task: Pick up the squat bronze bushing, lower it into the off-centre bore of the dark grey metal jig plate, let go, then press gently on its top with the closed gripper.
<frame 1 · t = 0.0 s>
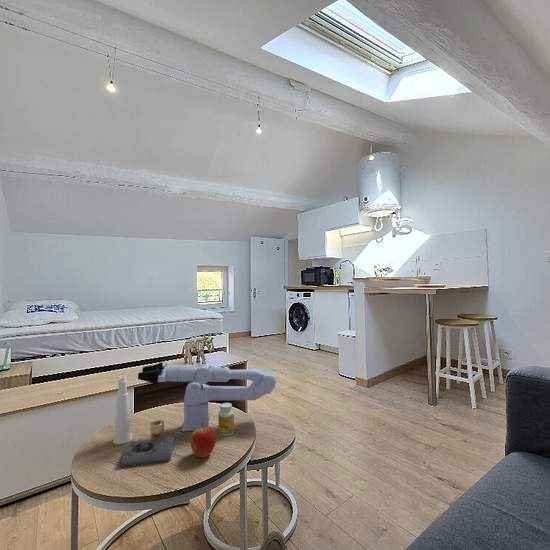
hand: (140, 372, 117), 22 cm above the table, tool horizontal, fingers open, 7 cm apart
jig plate: (149, 454, 101), on the table
bushing: (157, 440, 110), on the table
cosmetic bottle: (122, 440, 111), on the table
supplement bottle: (226, 433, 115), on the table
apple: (203, 455, 101), on the table
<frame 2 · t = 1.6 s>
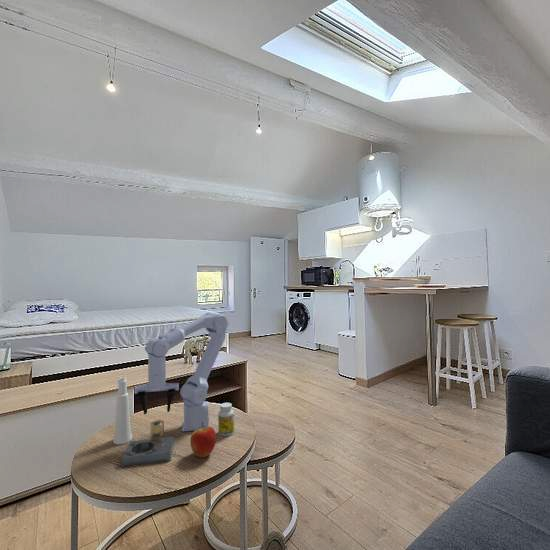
hand: (157, 411, 110), 10 cm above the table, tool pointing down, fingers open, 7 cm apart
nothing on the table moved.
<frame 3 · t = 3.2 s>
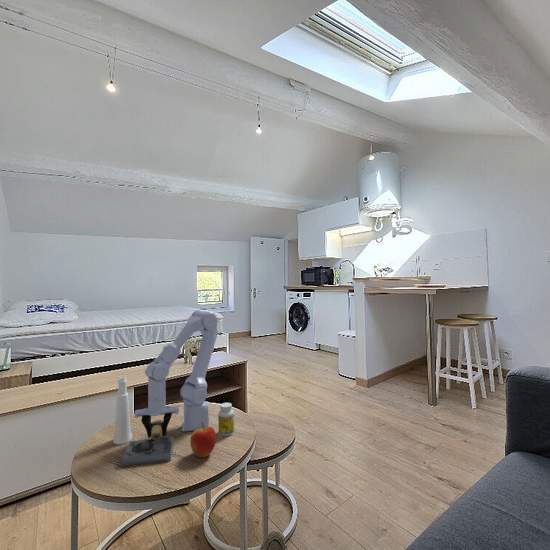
hand: (157, 435, 110), 2 cm above the table, tool pointing down, fingers closed on bushing, 4 cm apart
bushing: (157, 440, 110), on the table, touching gripper
everything else where it was.
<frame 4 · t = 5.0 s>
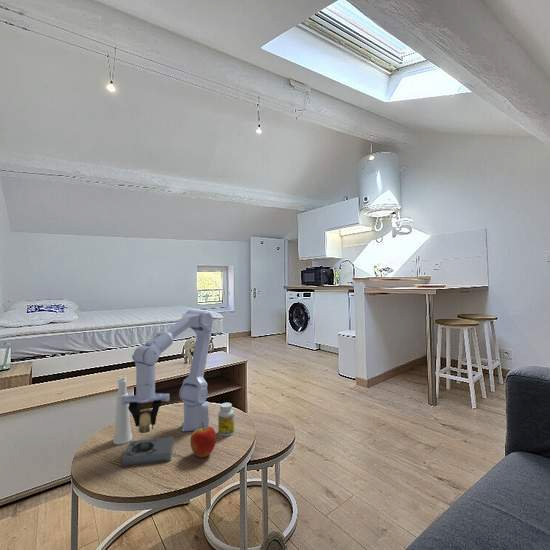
hand: (145, 424, 103), 9 cm above the table, tool pointing down, fingers closed on bushing, 4 cm apart
bushing: (145, 429, 103), point 7 cm above the table, touching gripper
everything else where it was.
when the fingers open (3 cm above the table, at t = 7.3 s): bushing drops 2 cm, resting in jig plate.
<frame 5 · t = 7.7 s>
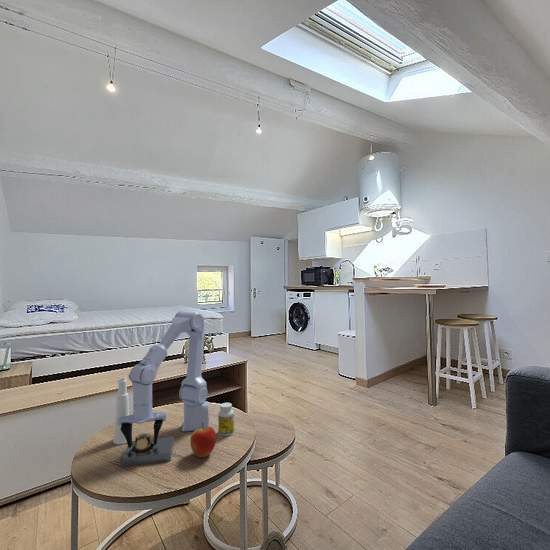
hand: (142, 444, 101), 3 cm above the table, tool pointing down, fingers open, 7 cm apart
bushing: (143, 455, 101), resting in jig plate
everything else where it was.
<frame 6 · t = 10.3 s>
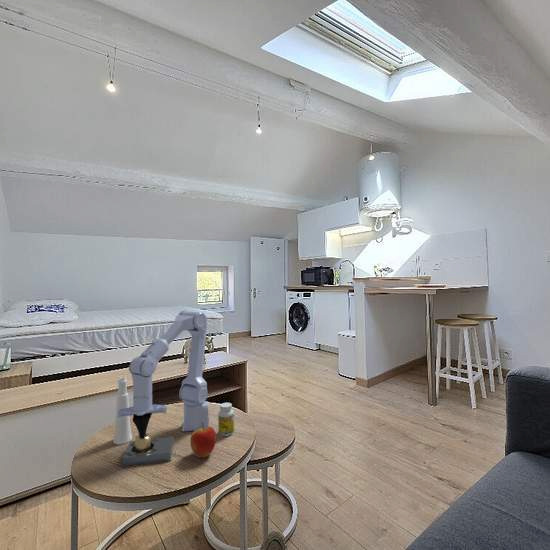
hand: (142, 436, 101), 6 cm above the table, tool pointing down, fingers closed, pressing on bushing
bushing: (143, 455, 101), resting in jig plate, touching gripper
everything else where it was.
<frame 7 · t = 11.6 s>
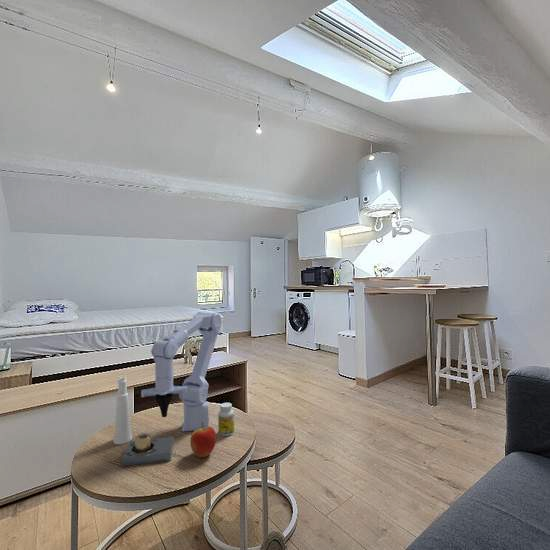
hand: (164, 415, 107), 10 cm above the table, tool pointing down, fingers closed
bushing: (143, 455, 101), resting in jig plate
everything else where it was.
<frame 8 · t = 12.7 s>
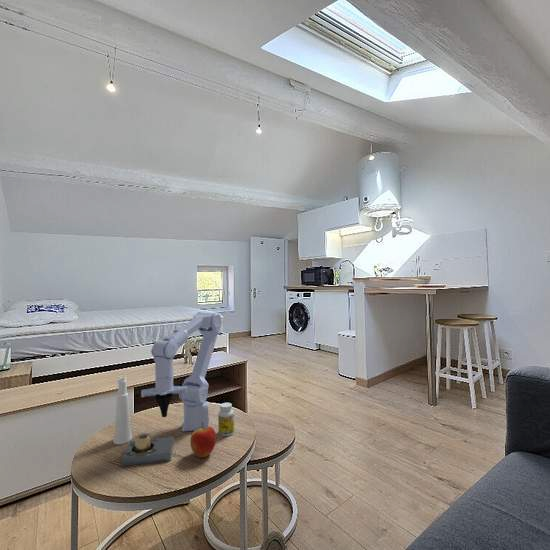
hand: (164, 415, 107), 10 cm above the table, tool pointing down, fingers closed
nothing on the table moved.
at the end: bushing 0.0 cm from the target spot on the jig plate, point 0.0 cm above the jig plate's base; bushing tilted 0°; the gripper is holding nothing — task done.
